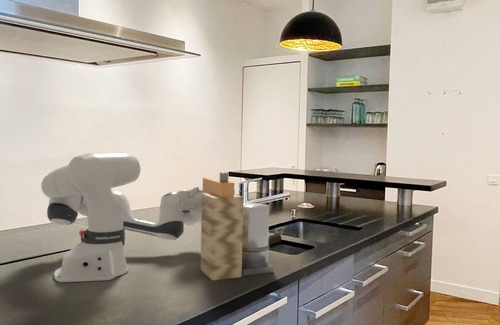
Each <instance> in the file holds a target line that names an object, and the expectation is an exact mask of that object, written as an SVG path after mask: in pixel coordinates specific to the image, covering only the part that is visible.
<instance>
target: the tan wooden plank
mask: <svg viewBox="0 0 500 325" xmlns="http://www.w3.org/2000/svg"><path fill="white" fill-rule="evenodd" d="M202 190H203V191H205V192H208V193H211V194H213V195H216V196H219V197H234V190H235V182H233V181H229V172H227V171H226V172H223V171H221V172H219V178H218V177H202Z"/></svg>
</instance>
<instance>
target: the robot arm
mask: <svg viewBox="0 0 500 325" xmlns="http://www.w3.org/2000/svg"><path fill="white" fill-rule="evenodd" d="M140 174H141V165H140V161H139V160H138V158H137V157H136V156H134V155H131V154H127V153H123V152H107V153H106V152H105V153H104V152H99V153H98V152H97V153H95V152H92V153H91V152H90V153H88V152H87V153H84V154H80V155H78V156H77V155H76V156H74V157H73V158H71V160H70V161H69V163H68V164H67V165H64V166H62V167H58V168H56V169H55V170H53V171H50V172H49V173H48V174H47V175H45V176H44V177H43V179H42V181H41V184H40V186H41V191H42V193H43V194H44V195H45V196H46V197H47V198H48V199H49V201H48V206H47V211H46V214H47V215H46V216H47V218H48V220H49V221H50V222H51V223H53V224H54V225H55V224H56V225H59V226H66V225H67V226H69V225H72V224H74V223H75V222H76V220H77V218H78V216H79V215H81V216H84V217H87V229H83V228H82V229H79V230H78V235H79V236H80V242H79V243H78V244H76V245H75V246H74V247H73V248H71V249H70V250H67V252H66V253H65V254H64V256H63V259H62V261H61V262H62V263H61V266H60V267H59V268H57V269H55V271H54V273H53V278H54V280H55V281H57V282H58V283H75V282H77V283H78V282H95V281H98V282H100V281H110V280H113V279H115V278H116V277H119V276H123V275H124V274H126V273H127V272H128V271H129V267H128V265H127V261H126V255H125V254H126V253H125V245H126V244H125V243H126V232H125V230H126V231H131V232H135V233H139V234H145V235H148V236H149V235H150V236H154V237H158V238H160V239H165V240H169V241H174V240H177V239H178V238H180V237H181V236H182V235H183V233H184V229H185V228H184V226H185V225H186V226H194V225H196V224H199V223H200V222H201V219H202V193H208V192H205V191H203V189H200V187H198V186H194V187H193V188H192V189H188V190H187V189H184V190H183V189H182V190H179V191H171V192H168V193H165V194H164V195H163V196H162V197H161V199H160V204H159V214H158V220H157V222H156V223H155V222H151V221H146V220H141V219H137V218H135V217H134V216H133V214H132V210H131V206H130V205H131V204H130V202H129V200H128V198H127V197H126V196H125V194H123V193H122V192H121V191H116V190H112V189H113V188H117V187H118V188H119V187H121V186H125V185H128V184H130V183H133V182H135V181H137V180H138V178H139V177H140Z"/></svg>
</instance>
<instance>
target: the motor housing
mask: <svg viewBox="0 0 500 325" xmlns="http://www.w3.org/2000/svg"><path fill="white" fill-rule="evenodd" d="M269 228H270V205H268V204H265V203H255V202H253V203H252V202H251V203H249V202H246V203H245V202H243V231H242V276H253V275H262V274H271V273H274V265H272V264H270V263H269V249H270V245H269V244H268V238H269V236H270V235H269V234H270V233H269V232H270V230H269Z"/></svg>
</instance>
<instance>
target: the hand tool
mask: <svg viewBox="0 0 500 325" xmlns="http://www.w3.org/2000/svg"><path fill="white" fill-rule="evenodd" d="M281 242H282V235H281V234H279V233H274V234H273V235H272V234H271V235H269V238H268V244H269V246H270V245H273V244H277V243H279V244H280V243H281Z"/></svg>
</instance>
